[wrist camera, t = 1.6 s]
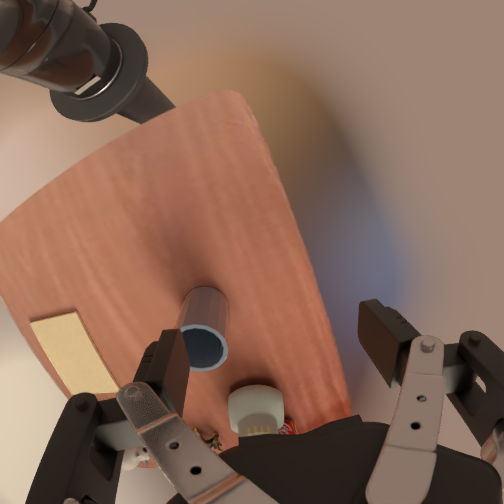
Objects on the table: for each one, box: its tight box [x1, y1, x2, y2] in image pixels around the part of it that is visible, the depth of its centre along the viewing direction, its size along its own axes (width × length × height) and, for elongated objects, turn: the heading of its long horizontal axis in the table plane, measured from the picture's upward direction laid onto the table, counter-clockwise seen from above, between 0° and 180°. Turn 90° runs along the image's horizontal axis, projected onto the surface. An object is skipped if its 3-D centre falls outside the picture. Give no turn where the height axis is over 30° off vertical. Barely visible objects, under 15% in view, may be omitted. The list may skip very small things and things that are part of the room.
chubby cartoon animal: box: [121, 446, 151, 470], centre depth 42 cm, size 7×12×8 cm, turn 113°
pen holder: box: [174, 286, 229, 372], centre depth 34 cm, size 6×6×10 cm
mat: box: [30, 311, 121, 394], centre depth 40 cm, size 16×12×1 cm
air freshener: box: [228, 385, 284, 437], centre depth 39 cm, size 11×8×10 cm
